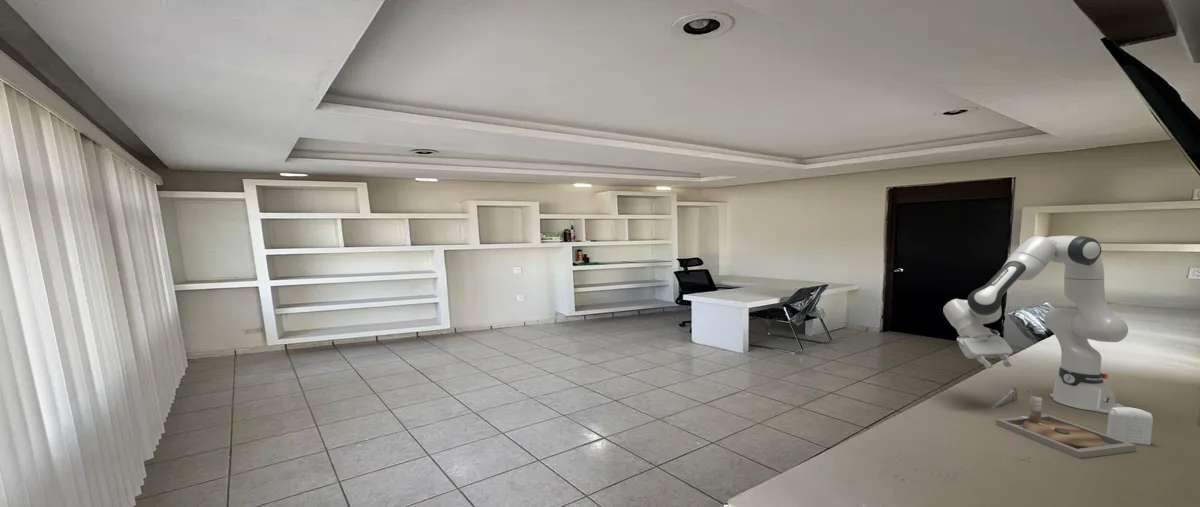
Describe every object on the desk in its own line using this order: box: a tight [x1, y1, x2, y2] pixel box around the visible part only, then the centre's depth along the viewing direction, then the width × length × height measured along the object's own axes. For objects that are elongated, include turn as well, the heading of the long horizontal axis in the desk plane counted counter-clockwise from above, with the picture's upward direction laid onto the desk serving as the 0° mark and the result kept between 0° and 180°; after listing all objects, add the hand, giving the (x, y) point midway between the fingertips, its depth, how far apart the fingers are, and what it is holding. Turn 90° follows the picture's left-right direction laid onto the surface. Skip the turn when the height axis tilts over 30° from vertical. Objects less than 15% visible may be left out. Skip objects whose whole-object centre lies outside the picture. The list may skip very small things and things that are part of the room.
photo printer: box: [1106, 406, 1154, 446], centre depth 149 cm, size 10×4×12 cm, turn 72°
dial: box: [1023, 395, 1104, 449], centre depth 151 cm, size 19×19×11 cm
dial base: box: [995, 413, 1137, 459], centre depth 151 cm, size 24×24×3 cm
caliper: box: [991, 385, 1019, 409], centre depth 182 cm, size 20×1×6 cm, turn 118°
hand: (999, 366), depth 170 cm, fingers open, 8 cm apart
